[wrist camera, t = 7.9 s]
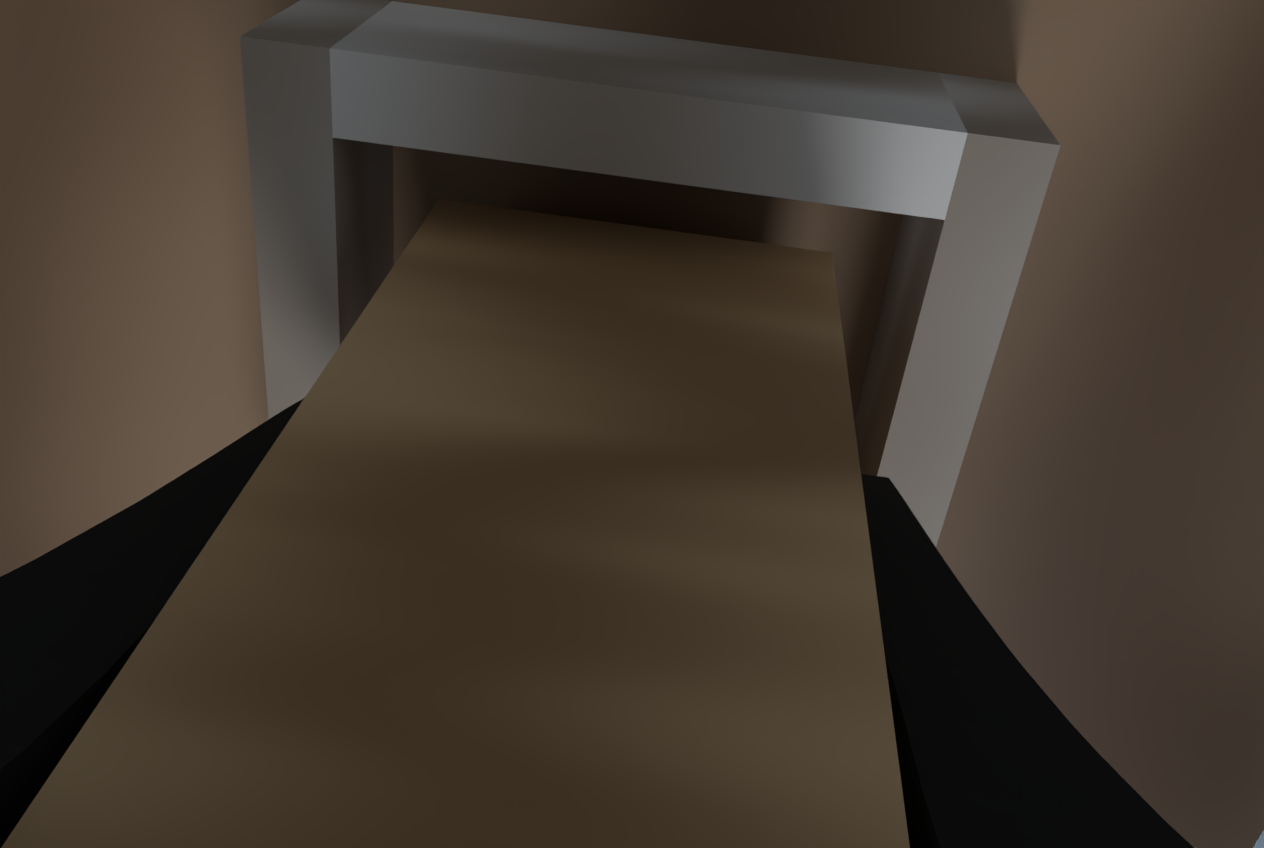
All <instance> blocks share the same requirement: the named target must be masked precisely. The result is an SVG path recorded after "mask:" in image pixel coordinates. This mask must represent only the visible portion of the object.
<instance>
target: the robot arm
mask: <svg viewBox="0 0 1264 848" xmlns="http://www.w3.org/2000/svg"><path fill="white" fill-rule="evenodd" d="M303 400H304V398H303V399H302V400H300V401H298V402H296V403H295V404H293V405H291V406H290V407H288V408H286V409H285V410H283V411H281V412H280V413H278V414H277V415H275V416H273V417H272V418H270V419H269V420H267V421H266V422H264V423H262V424H261V425H259V426H258V427H256V428H255V429H253V430H251V431H250V432H248V433H247V434H245V435H244V436H242V437H241V438H239V439H238V440H236V441H234V442H233V443H231V444H230V445H228V446H227V447H225V448H224V449H222V450H220V451H219V452H217V453H216V454H214V455H213V456H211V457H209V458H208V459H206V460H205V461H203V462H201V463H200V464H198V465H197V466H195V467H193V468H192V469H190V470H188V471H187V472H185V473H184V474H182V475H180V476H179V477H177V478H176V479H174V480H172V481H171V482H169V483H168V484H166V485H164V486H163V487H161V488H160V489H158V490H156V491H155V492H153V493H151V494H150V495H148V496H147V497H145V498H143V499H142V500H140V501H138V502H137V503H135V504H133V505H131V506H129V507H128V508H126V509H124V510H122V511H121V512H119V513H117V514H115V515H113V516H112V517H110V518H108V519H106V520H104V521H103V522H101V523H99V524H97V525H95V526H94V527H92V528H90V529H88V530H87V531H85V532H83V533H81V534H79V535H78V536H76V537H74V538H72V539H70V540H69V541H67V542H65V543H63V544H61V545H60V546H58V547H56V548H54V549H53V550H51V551H49V552H47V553H45V554H44V555H42V556H40V557H38V558H36V559H35V560H33V561H31V562H29V563H27V564H25V565H23V566H21V567H19V568H17V569H15V570H13V571H11V572H9V573H7V574H5V575H3V576H1V577H0V848H1V847H2V846H3V844H4V843H5V841H6V840H7V838H8V837H9V836H10V834H11V833H12V831H13V830H14V828H15V827H16V825H17V824H18V822H19V821H20V819H21V818H22V816H23V815H24V813H25V812H26V810H27V809H28V807H29V806H30V804H31V803H32V801H33V800H34V798H35V797H36V795H37V794H38V793H39V791H40V790H41V788H42V787H43V785H44V784H45V782H46V781H47V779H48V778H49V776H50V775H51V773H52V772H53V770H54V769H55V767H56V766H57V764H58V763H59V761H60V760H61V758H62V757H63V755H64V754H65V752H66V751H67V750H68V748H69V747H70V745H71V744H72V742H73V741H74V739H75V738H76V736H77V735H78V733H79V732H80V730H81V729H82V727H83V726H84V724H85V723H86V721H87V720H88V718H89V717H90V715H91V714H92V712H93V711H94V709H95V708H96V707H97V705H98V704H99V702H100V701H101V699H102V698H103V696H104V695H105V693H106V692H107V690H108V689H109V687H110V686H111V684H112V683H113V681H114V680H115V678H116V677H117V675H118V674H119V672H120V671H121V669H122V668H123V666H124V665H125V664H126V662H127V661H128V659H129V658H130V656H131V655H132V653H133V652H134V650H135V649H136V647H137V646H138V644H139V643H140V641H141V640H142V638H143V637H144V635H145V634H146V632H147V631H148V629H149V628H150V626H151V625H152V623H153V622H154V621H155V619H156V618H157V616H158V615H159V613H160V612H161V610H162V609H163V607H164V606H165V604H166V603H167V601H168V600H169V598H170V597H171V595H172V594H173V592H174V591H175V589H176V588H177V586H178V585H179V583H180V582H181V580H182V579H183V578H184V576H185V575H186V573H187V572H188V570H189V569H190V567H191V566H192V564H193V563H194V561H195V560H196V558H197V557H198V555H199V554H200V552H201V551H202V549H203V548H204V546H205V545H206V543H207V542H208V540H209V539H210V537H211V536H212V535H213V533H214V532H215V530H216V529H217V527H218V526H219V524H220V523H221V521H222V520H223V518H224V517H225V515H226V514H227V512H228V511H229V509H230V508H231V506H232V505H233V503H234V502H235V500H236V499H237V497H238V496H239V494H240V493H241V492H242V490H243V489H244V487H245V486H246V484H247V483H248V481H249V480H250V478H251V477H252V475H253V474H254V472H255V471H256V469H257V468H258V466H259V465H260V463H261V462H262V460H263V459H264V457H265V456H266V454H267V453H268V451H269V450H270V449H271V447H272V446H273V444H274V443H275V441H276V440H277V438H278V437H279V435H280V434H281V432H282V431H283V429H284V428H285V426H286V425H287V423H288V422H289V420H290V419H291V417H292V416H293V414H294V413H295V411H296V410H297V408H298V407H299V406H300V404H301V403H302V401H303ZM861 477H862V485H863V493H864V500H865V508H866V516H867V523H868V531H869V539H870V546H871V554H872V561H873V569H874V577H875V584H876V592H877V600H878V607H879V615H880V623H881V630H882V638H883V646H884V653H885V661H886V669H887V676H888V684H889V692H890V699H891V707H892V715H893V722H894V730H895V738H896V745H897V753H898V760H899V768H900V776H901V783H902V791H903V799H904V806H905V814H906V822H907V829H908V837H909V845H910V848H1194V847H1193V846H1192V845H1191V844H1190V843H1189V842H1187V841H1186V840H1185V839H1184V838H1183V837H1182V836H1181V835H1180V834H1179V833H1178V832H1177V831H1176V830H1175V829H1174V828H1172V827H1171V826H1170V825H1169V824H1168V823H1167V822H1166V821H1165V820H1164V819H1163V818H1162V817H1161V816H1160V815H1159V814H1158V813H1157V812H1156V811H1155V810H1154V809H1153V808H1152V807H1151V806H1150V805H1149V804H1148V803H1147V802H1146V801H1145V800H1144V799H1143V798H1142V797H1141V796H1140V795H1139V794H1138V793H1137V792H1136V791H1135V790H1134V789H1133V788H1132V787H1131V786H1130V785H1129V784H1128V783H1127V782H1126V781H1125V780H1124V779H1123V778H1122V777H1121V776H1120V775H1119V774H1118V773H1117V772H1116V771H1115V769H1114V768H1113V767H1112V766H1111V765H1110V764H1109V763H1108V762H1107V761H1106V760H1105V759H1104V758H1103V757H1102V756H1101V755H1100V754H1099V753H1098V752H1097V751H1096V750H1095V749H1094V748H1093V747H1092V746H1091V744H1090V743H1089V742H1088V741H1087V740H1086V739H1085V738H1084V737H1083V736H1082V735H1081V734H1080V733H1079V731H1078V730H1077V729H1076V728H1075V727H1074V726H1073V725H1072V724H1071V723H1070V721H1069V720H1068V719H1067V718H1066V717H1065V716H1064V714H1063V713H1062V712H1061V711H1060V710H1059V708H1058V707H1057V706H1056V705H1055V704H1054V703H1053V701H1052V700H1051V699H1050V698H1049V697H1048V696H1047V694H1046V693H1045V692H1044V691H1043V690H1042V688H1041V687H1040V686H1039V685H1038V684H1037V683H1036V681H1035V680H1034V679H1033V678H1032V677H1031V675H1030V674H1029V673H1028V672H1027V671H1026V670H1025V668H1024V667H1023V666H1022V665H1021V663H1020V662H1019V661H1018V660H1017V658H1016V657H1015V656H1014V655H1013V653H1012V652H1011V651H1010V650H1009V648H1008V647H1007V646H1006V644H1005V643H1004V642H1003V640H1002V639H1001V638H1000V636H999V635H998V634H997V632H996V631H995V630H994V628H993V627H992V625H991V624H990V623H989V621H988V620H987V619H986V617H985V616H984V615H983V613H982V612H981V611H980V609H979V608H978V607H977V605H976V604H975V603H974V601H973V600H972V599H971V597H970V596H969V594H968V593H967V592H966V590H965V589H964V587H963V586H962V585H961V583H960V582H959V580H958V579H957V577H956V576H955V575H954V573H953V572H952V570H951V569H950V567H949V566H948V564H947V563H946V561H945V560H944V558H943V557H942V556H941V554H940V553H939V551H938V550H937V548H936V547H935V545H934V544H933V542H932V541H931V539H930V538H929V536H928V535H927V533H926V532H925V530H924V529H923V527H922V526H921V524H920V523H919V521H918V520H917V518H916V517H915V515H914V514H913V512H912V511H911V509H910V508H909V506H908V505H907V503H906V502H905V500H904V499H903V497H902V496H901V494H900V493H899V491H898V490H897V489H896V487H895V486H894V484H893V483H892V481H891V480H890V479H889V478H888V477H881V476H874V475H867V474H861Z"/></svg>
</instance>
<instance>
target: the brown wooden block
mask: <svg viewBox="0 0 1264 848" xmlns="http://www.w3.org/2000/svg"><path fill="white" fill-rule="evenodd" d="M1 848H910V845H909V837H908V829H907V822H906V814H905V806H904V799H903V791H902V783H901V776H900V768H899V760H898V753H897V745H896V738H895V730H894V722H893V715H892V707H891V699H890V692H889V684H888V676H887V669H886V661H885V653H884V646H883V638H882V630H881V623H880V615H879V607H878V600H877V592H876V584H875V577H874V569H873V561H872V554H871V546H870V539H869V531H868V523H867V516H866V508H865V500H864V493H863V485H862V477H861V470H860V462H859V454H858V447H857V439H856V431H855V424H854V416H853V408H852V401H851V393H850V385H849V378H848V370H847V363H846V355H845V347H844V340H843V332H842V324H841V317H840V309H839V301H838V294H837V286H836V278H835V271H834V263H833V255H832V252H824V251H817V250H809V249H802V248H795V247H787V246H780V245H773V244H765V243H758V242H751V241H743V240H736V239H728V238H721V237H714V236H706V235H699V234H692V233H684V232H677V231H670V230H662V229H655V228H648V227H640V226H633V225H625V224H618V223H611V222H603V221H596V220H589V219H581V218H574V217H567V216H559V215H552V214H544V213H537V212H530V211H522V210H515V209H508V208H500V207H493V206H486V205H478V204H471V203H464V202H456V201H449V200H441V199H438V201H437V202H436V204H435V205H434V207H433V208H432V210H431V211H430V213H429V214H428V216H427V217H426V219H425V220H424V222H423V223H422V225H421V226H420V228H419V229H418V231H417V232H416V234H415V235H414V236H413V238H412V239H411V241H410V242H409V244H408V245H407V247H406V248H405V250H404V251H403V253H402V254H401V256H400V257H399V259H398V260H397V262H396V263H395V265H394V266H393V268H392V269H391V271H390V272H389V274H388V275H387V277H386V278H385V279H384V281H383V282H382V284H381V285H380V287H379V288H378V290H377V291H376V293H375V294H374V296H373V297H372V299H371V300H370V302H369V303H368V305H367V306H366V308H365V309H364V311H363V312H362V314H361V315H360V317H359V318H358V320H357V321H356V322H355V324H354V325H353V327H352V328H351V330H350V331H349V333H348V334H347V336H346V337H345V339H344V340H343V342H342V343H341V345H340V346H339V348H338V349H337V351H336V352H335V354H334V355H333V357H332V358H331V360H330V361H329V363H328V364H327V365H326V367H325V368H324V370H323V371H322V373H321V374H320V376H319V377H318V379H317V380H316V382H315V383H314V385H313V386H312V388H311V389H310V391H309V392H308V394H307V395H306V397H305V398H304V400H303V401H302V403H301V404H300V406H299V407H298V408H297V410H296V411H295V413H294V414H293V416H292V417H291V419H290V420H289V422H288V423H287V425H286V426H285V428H284V429H283V431H282V432H281V434H280V435H279V437H278V438H277V440H276V441H275V443H274V444H273V446H272V447H271V449H270V450H269V451H268V453H267V454H266V456H265V457H264V459H263V460H262V462H261V463H260V465H259V466H258V468H257V469H256V471H255V472H254V474H253V475H252V477H251V478H250V480H249V481H248V483H247V484H246V486H245V487H244V489H243V490H242V492H241V493H240V494H239V496H238V497H237V499H236V500H235V502H234V503H233V505H232V506H231V508H230V509H229V511H228V512H227V514H226V515H225V517H224V518H223V520H222V521H221V523H220V524H219V526H218V527H217V529H216V530H215V532H214V533H213V535H212V536H211V537H210V539H209V540H208V542H207V543H206V545H205V546H204V548H203V549H202V551H201V552H200V554H199V555H198V557H197V558H196V560H195V561H194V563H193V564H192V566H191V567H190V569H189V570H188V572H187V573H186V575H185V576H184V578H183V579H182V580H181V582H180V583H179V585H178V586H177V588H176V589H175V591H174V592H173V594H172V595H171V597H170V598H169V600H168V601H167V603H166V604H165V606H164V607H163V609H162V610H161V612H160V613H159V615H158V616H157V618H156V619H155V621H154V622H153V623H152V625H151V626H150V628H149V629H148V631H147V632H146V634H145V635H144V637H143V638H142V640H141V641H140V643H139V644H138V646H137V647H136V649H135V650H134V652H133V653H132V655H131V656H130V658H129V659H128V661H127V662H126V664H125V665H124V666H123V668H122V669H121V671H120V672H119V674H118V675H117V677H116V678H115V680H114V681H113V683H112V684H111V686H110V687H109V689H108V690H107V692H106V693H105V695H104V696H103V698H102V699H101V701H100V702H99V704H98V705H97V707H96V708H95V709H94V711H93V712H92V714H91V715H90V717H89V718H88V720H87V721H86V723H85V724H84V726H83V727H82V729H81V730H80V732H79V733H78V735H77V736H76V738H75V739H74V741H73V742H72V744H71V745H70V747H69V748H68V750H67V751H66V752H65V754H64V755H63V757H62V758H61V760H60V761H59V763H58V764H57V766H56V767H55V769H54V770H53V772H52V773H51V775H50V776H49V778H48V779H47V781H46V782H45V784H44V785H43V787H42V788H41V790H40V791H39V793H38V794H37V795H36V797H35V798H34V800H33V801H32V803H31V804H30V806H29V807H28V809H27V810H26V812H25V813H24V815H23V816H22V818H21V819H20V821H19V822H18V824H17V825H16V827H15V828H14V830H13V831H12V833H11V834H10V836H9V837H8V838H7V840H6V841H5V843H4V844H3V846H2V847H1Z"/></svg>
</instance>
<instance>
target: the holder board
mask: <svg viewBox="0 0 1264 848" xmlns="http://www.w3.org/2000/svg"><path fill="white" fill-rule="evenodd" d="M438 199H441V200H449V201H456V202H464V203H471V204H478V205H486V206H493V207H500V208H508V209H515V210H522V211H530V212H537V213H544V214H552V215H559V216H567V217H574V218H581V219H589V220H596V221H603V222H611V223H618V224H625V225H633V226H640V227H648V228H655V229H662V230H670V231H677V232H684V233H692V234H699V235H706V236H714V237H721V238H728V239H736V240H743V241H751V242H758V243H765V244H773V245H780V246H787V247H795V248H802V249H809V250H817V251H824V252H832V255H833V263H834V271H835V278H836V286H837V294H838V301H839V309H840V317H841V324H842V332H843V340H844V347H845V355H846V363H847V370H848V378H849V385H850V393H851V401H852V408H853V416H854V424H855V431H856V439H857V447H858V454H859V462H860V470H861V474H867V475H874V476H881V477H888V478H889V479H890V480H891V481H892V483H893V484H894V486H895V487H896V489H897V490H898V491H899V493H900V494H901V496H902V497H903V499H904V500H905V502H906V503H907V505H908V506H909V508H910V509H911V511H912V512H913V514H914V515H915V517H916V518H917V520H918V521H919V523H920V524H921V526H922V527H923V529H924V530H925V532H926V533H927V535H928V536H929V538H930V539H931V541H932V542H933V544H934V545H935V547H936V548H937V550H938V551H939V553H940V554H941V556H942V557H943V558H944V560H945V561H946V563H947V564H948V566H949V567H950V569H951V570H952V572H953V573H954V575H955V576H956V577H957V579H958V580H959V582H960V583H961V585H962V586H963V587H964V589H965V590H966V592H967V593H968V594H969V596H970V597H971V599H972V600H973V601H974V603H975V604H976V605H977V607H978V608H979V609H980V611H981V612H982V613H983V615H984V616H985V617H986V619H987V620H988V621H989V623H990V624H991V625H992V627H993V628H994V630H995V631H996V632H997V634H998V635H999V636H1000V638H1001V639H1002V640H1003V642H1004V643H1005V644H1006V646H1007V647H1008V648H1009V650H1010V651H1011V652H1012V653H1013V655H1014V656H1015V657H1016V658H1017V660H1018V661H1019V662H1020V663H1021V665H1022V666H1023V667H1024V668H1025V670H1026V671H1027V672H1028V673H1029V674H1030V675H1031V677H1032V678H1033V679H1034V680H1035V681H1036V683H1037V684H1038V685H1039V686H1040V687H1041V688H1042V690H1043V691H1044V692H1045V693H1046V694H1047V696H1048V697H1049V698H1050V699H1051V700H1052V701H1053V703H1054V704H1055V705H1056V706H1057V707H1058V708H1059V710H1060V711H1061V712H1062V713H1063V714H1064V716H1065V717H1066V718H1067V719H1068V720H1069V721H1070V723H1071V724H1072V725H1073V726H1074V727H1075V728H1076V729H1077V730H1078V731H1079V733H1080V734H1081V735H1082V736H1083V737H1084V738H1085V739H1086V740H1087V741H1088V742H1089V743H1090V744H1091V746H1092V747H1093V748H1094V749H1095V750H1096V751H1097V752H1098V753H1099V754H1100V755H1101V756H1102V757H1103V758H1104V759H1105V760H1106V761H1107V762H1108V763H1109V764H1110V765H1111V766H1112V767H1113V768H1114V769H1115V771H1116V772H1117V773H1118V774H1119V775H1120V776H1121V777H1122V778H1123V779H1124V780H1125V781H1126V782H1127V783H1128V784H1129V785H1130V786H1131V787H1132V788H1133V789H1134V790H1135V791H1136V792H1137V793H1138V794H1139V795H1140V796H1141V797H1142V798H1143V799H1144V800H1145V801H1146V802H1147V803H1148V804H1149V805H1150V806H1151V807H1152V808H1153V809H1154V810H1155V811H1156V812H1157V813H1158V814H1159V815H1160V816H1161V817H1162V818H1163V819H1164V820H1165V821H1166V822H1167V823H1168V824H1169V825H1170V826H1171V827H1172V828H1174V829H1175V830H1176V831H1177V832H1178V833H1179V834H1180V835H1181V836H1182V837H1183V838H1184V839H1185V840H1186V841H1187V842H1189V843H1190V844H1191V845H1192V846H1193V847H1194V848H1253V846H1254V844H1255V843H1256V841H1257V839H1258V838H1259V836H1260V834H1261V833H1262V831H1263V829H1264V0H0V577H1V576H3V575H5V574H7V573H9V572H11V571H13V570H15V569H17V568H19V567H21V566H23V565H25V564H27V563H29V562H31V561H33V560H35V559H36V558H38V557H40V556H42V555H44V554H45V553H47V552H49V551H51V550H53V549H54V548H56V547H58V546H60V545H61V544H63V543H65V542H67V541H69V540H70V539H72V538H74V537H76V536H78V535H79V534H81V533H83V532H85V531H87V530H88V529H90V528H92V527H94V526H95V525H97V524H99V523H101V522H103V521H104V520H106V519H108V518H110V517H112V516H113V515H115V514H117V513H119V512H121V511H122V510H124V509H126V508H128V507H129V506H131V505H133V504H135V503H137V502H138V501H140V500H142V499H143V498H145V497H147V496H148V495H150V494H151V493H153V492H155V491H156V490H158V489H160V488H161V487H163V486H164V485H166V484H168V483H169V482H171V481H172V480H174V479H176V478H177V477H179V476H180V475H182V474H184V473H185V472H187V471H188V470H190V469H192V468H193V467H195V466H197V465H198V464H200V463H201V462H203V461H205V460H206V459H208V458H209V457H211V456H213V455H214V454H216V453H217V452H219V451H220V450H222V449H224V448H225V447H227V446H228V445H230V444H231V443H233V442H234V441H236V440H238V439H239V438H241V437H242V436H244V435H245V434H247V433H248V432H250V431H251V430H253V429H255V428H256V427H258V426H259V425H261V424H262V423H264V422H266V421H267V420H269V419H270V418H272V417H273V416H275V415H277V414H278V413H280V412H281V411H283V410H285V409H286V408H288V407H290V406H291V405H293V404H295V403H296V402H298V401H300V400H302V399H303V398H305V397H306V395H307V394H308V392H309V391H310V389H311V388H312V386H313V385H314V383H315V382H316V380H317V379H318V377H319V376H320V374H321V373H322V371H323V370H324V368H325V367H326V365H327V364H328V363H329V361H330V360H331V358H332V357H333V355H334V354H335V352H336V351H337V349H338V348H339V346H340V345H341V343H342V342H343V340H344V339H345V337H346V336H347V334H348V333H349V331H350V330H351V328H352V327H353V325H354V324H355V322H356V321H357V320H358V318H359V317H360V315H361V314H362V312H363V311H364V309H365V308H366V306H367V305H368V303H369V302H370V300H371V299H372V297H373V296H374V294H375V293H376V291H377V290H378V288H379V287H380V285H381V284H382V282H383V281H384V279H385V278H386V277H387V275H388V274H389V272H390V271H391V269H392V268H393V266H394V265H395V263H396V262H397V260H398V259H399V257H400V256H401V254H402V253H403V251H404V250H405V248H406V247H407V245H408V244H409V242H410V241H411V239H412V238H413V236H414V235H415V234H416V232H417V231H418V229H419V228H420V226H421V225H422V223H423V222H424V220H425V219H426V217H427V216H428V214H429V213H430V211H431V210H432V208H433V207H434V205H435V204H436V202H437V201H438Z"/></svg>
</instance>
